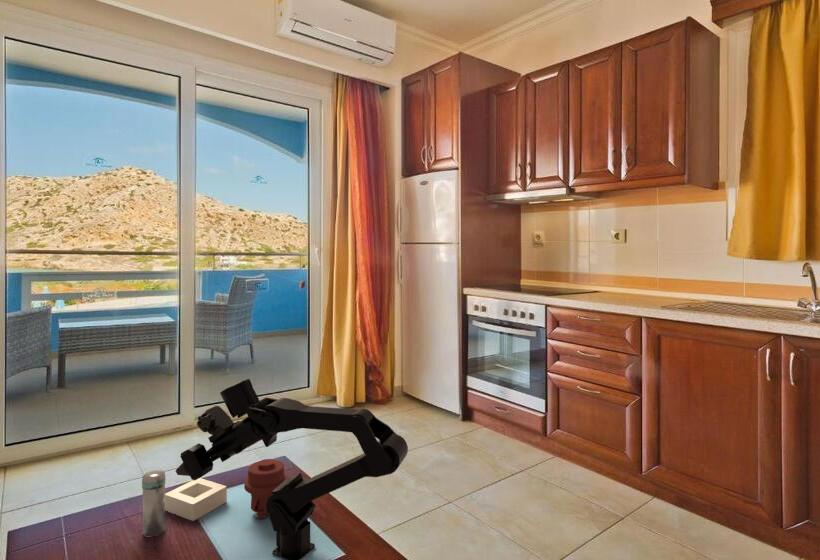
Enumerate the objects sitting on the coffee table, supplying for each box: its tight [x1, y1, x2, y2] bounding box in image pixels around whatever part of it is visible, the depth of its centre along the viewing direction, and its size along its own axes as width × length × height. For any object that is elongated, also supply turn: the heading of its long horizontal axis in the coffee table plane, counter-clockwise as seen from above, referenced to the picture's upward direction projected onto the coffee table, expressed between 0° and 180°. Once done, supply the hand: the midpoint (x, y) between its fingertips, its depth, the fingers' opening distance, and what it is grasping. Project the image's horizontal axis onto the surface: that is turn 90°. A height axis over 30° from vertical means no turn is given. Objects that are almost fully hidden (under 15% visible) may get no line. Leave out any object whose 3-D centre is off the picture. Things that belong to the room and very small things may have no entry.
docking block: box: [165, 477, 228, 522], centre depth 119 cm, size 10×10×4 cm
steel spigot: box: [141, 469, 166, 538], centre depth 108 cm, size 5×5×13 cm
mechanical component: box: [243, 458, 289, 520], centre depth 117 cm, size 12×10×10 cm
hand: (191, 463), depth 108 cm, fingers open, 9 cm apart
